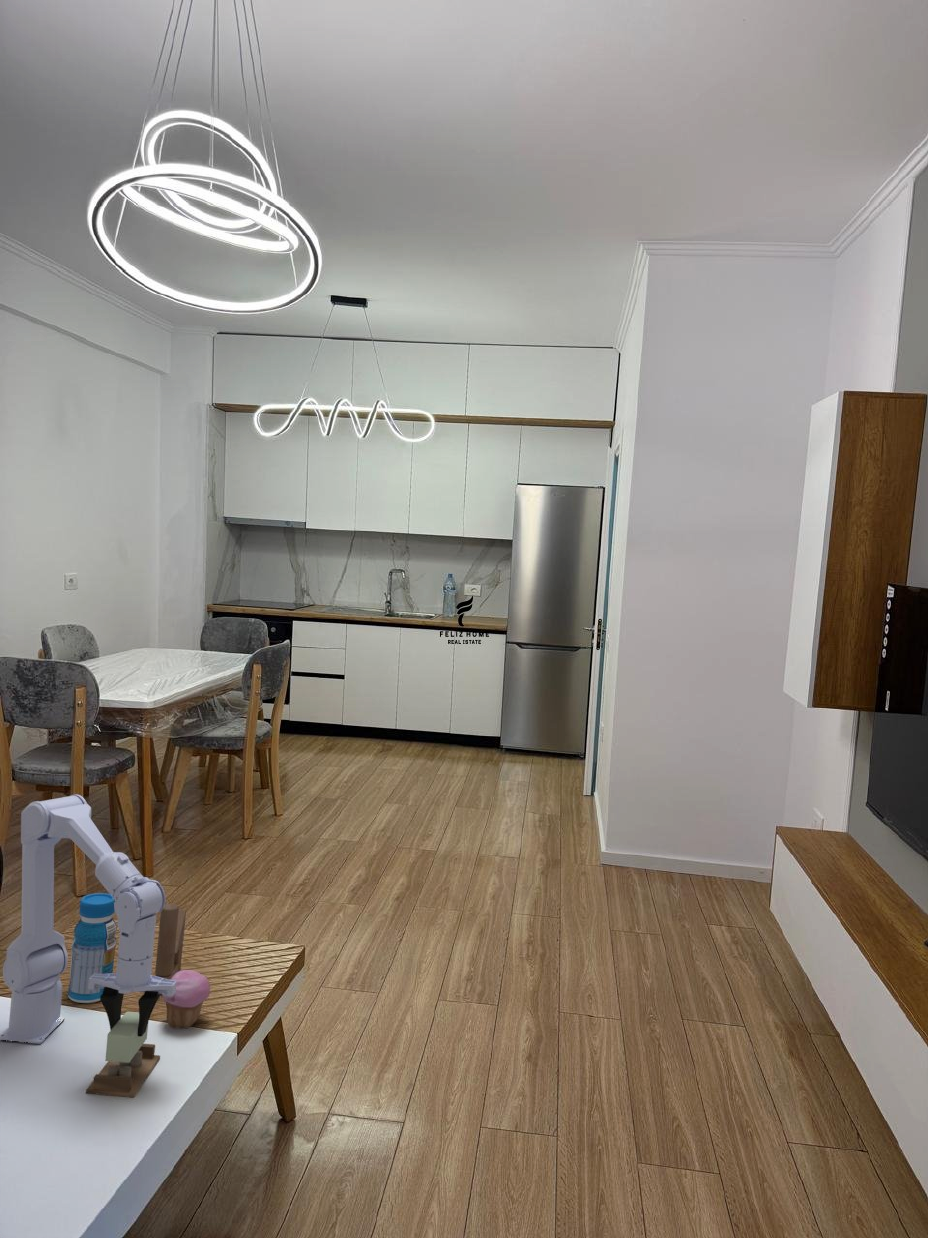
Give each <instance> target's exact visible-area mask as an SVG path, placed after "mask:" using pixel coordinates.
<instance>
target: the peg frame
mask: <svg viewBox="0 0 928 1238" xmlns="http://www.w3.org/2000/svg"><path fill="white" fill-rule="evenodd" d="M155 1050H156V1044H155V1043H154V1044H151V1043H143V1045H142V1046H141V1047H140V1049H139V1050H138V1051H137V1053H136V1054H135V1055H134V1057H133V1058H132V1060H131V1061H130V1062H129V1063H125V1062H113V1061H106V1063H105V1065H104V1066H103V1067H102V1069H101V1070H100V1071H99V1072H98V1073H96V1074H95V1075H94V1076H93V1080H92V1081H91V1083H90V1084H89V1085H88V1087H87V1088H86V1089H85V1094H91V1095H102V1096H113V1097H127V1098H135V1097H136V1095H137V1094H138V1092H139V1091H140V1089H141V1088H142V1086H143V1085H144V1083H145V1082H146V1080H147V1079H148V1077H149V1076H150V1075H151V1073H152V1071H154V1068H156V1066H157V1064H158V1063H159V1061H160V1059H161V1055H159V1054H158V1055H156V1053H155Z"/></svg>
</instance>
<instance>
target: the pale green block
mask: <svg viewBox="0 0 928 1238" xmlns="http://www.w3.org/2000/svg"><path fill="white" fill-rule="evenodd" d="M138 1024H139V1012H137V1011H126V1012H125V1013H124V1014H123V1015H121V1019H120V1020H119V1021H118V1022H117V1024H116V1025H115V1026H114V1027H113V1028H112V1030H109V1032H108V1033H107V1037H106V1048H105V1049H106V1050H105V1062H108V1061H113V1062H125V1063H129V1062H130V1061H131V1060H132V1058H133V1057H134V1055H135V1054H136V1053H137V1051H138V1050H139V1049H140V1047H141V1046H142V1045H143V1044H145V1042H146V1040H147V1039H148V1031H149V1030H148V1029H149V1023H148V1024H147V1028H146V1032H145V1033H144V1034H143V1036H141V1037H140V1036H138Z"/></svg>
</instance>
